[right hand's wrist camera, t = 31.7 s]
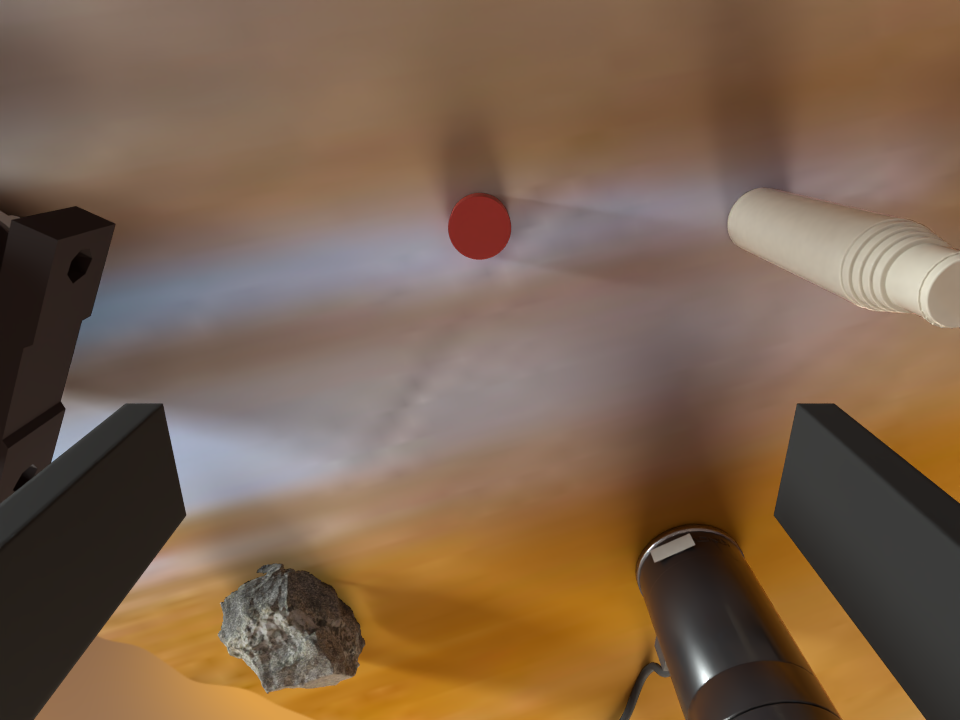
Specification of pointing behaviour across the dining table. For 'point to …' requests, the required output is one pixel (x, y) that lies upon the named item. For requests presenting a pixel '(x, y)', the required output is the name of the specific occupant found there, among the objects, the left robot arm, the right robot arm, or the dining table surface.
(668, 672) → the left robot arm
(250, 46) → the dining table surface
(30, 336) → the mechanical component
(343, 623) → the rock
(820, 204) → the bottle
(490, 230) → the cap
